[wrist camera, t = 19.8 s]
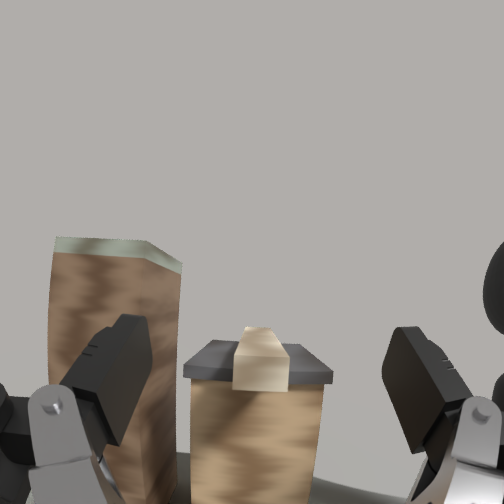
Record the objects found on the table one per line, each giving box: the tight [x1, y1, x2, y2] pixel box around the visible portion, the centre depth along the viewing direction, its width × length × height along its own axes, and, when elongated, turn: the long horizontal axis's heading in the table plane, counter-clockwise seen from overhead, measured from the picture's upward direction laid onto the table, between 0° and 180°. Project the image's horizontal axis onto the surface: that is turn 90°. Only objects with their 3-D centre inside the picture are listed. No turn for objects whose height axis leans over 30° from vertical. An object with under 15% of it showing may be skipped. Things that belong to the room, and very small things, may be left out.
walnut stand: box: [48, 237, 182, 504], centre depth 30 cm, size 10×14×32 cm
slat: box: [232, 327, 290, 392], centre depth 27 cm, size 3×22×2 cm, turn 179°
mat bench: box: [183, 340, 333, 504], centre depth 28 cm, size 11×17×22 cm, turn 0°
